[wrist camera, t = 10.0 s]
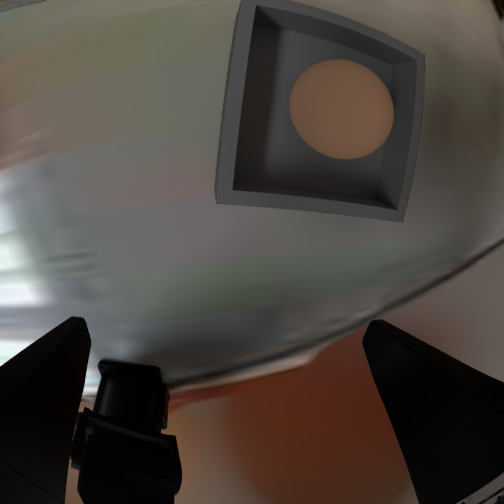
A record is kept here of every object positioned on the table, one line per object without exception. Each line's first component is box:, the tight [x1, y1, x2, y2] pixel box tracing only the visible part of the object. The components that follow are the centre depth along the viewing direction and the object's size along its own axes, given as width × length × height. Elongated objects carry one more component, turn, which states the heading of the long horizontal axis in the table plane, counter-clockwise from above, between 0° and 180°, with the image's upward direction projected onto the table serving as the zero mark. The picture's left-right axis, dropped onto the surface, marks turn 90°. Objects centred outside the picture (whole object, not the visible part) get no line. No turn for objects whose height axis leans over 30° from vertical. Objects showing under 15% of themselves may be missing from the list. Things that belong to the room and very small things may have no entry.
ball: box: [289, 59, 394, 159], centre depth 13 cm, size 6×6×6 cm
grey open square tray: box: [214, 0, 425, 223], centre depth 15 cm, size 13×13×4 cm
